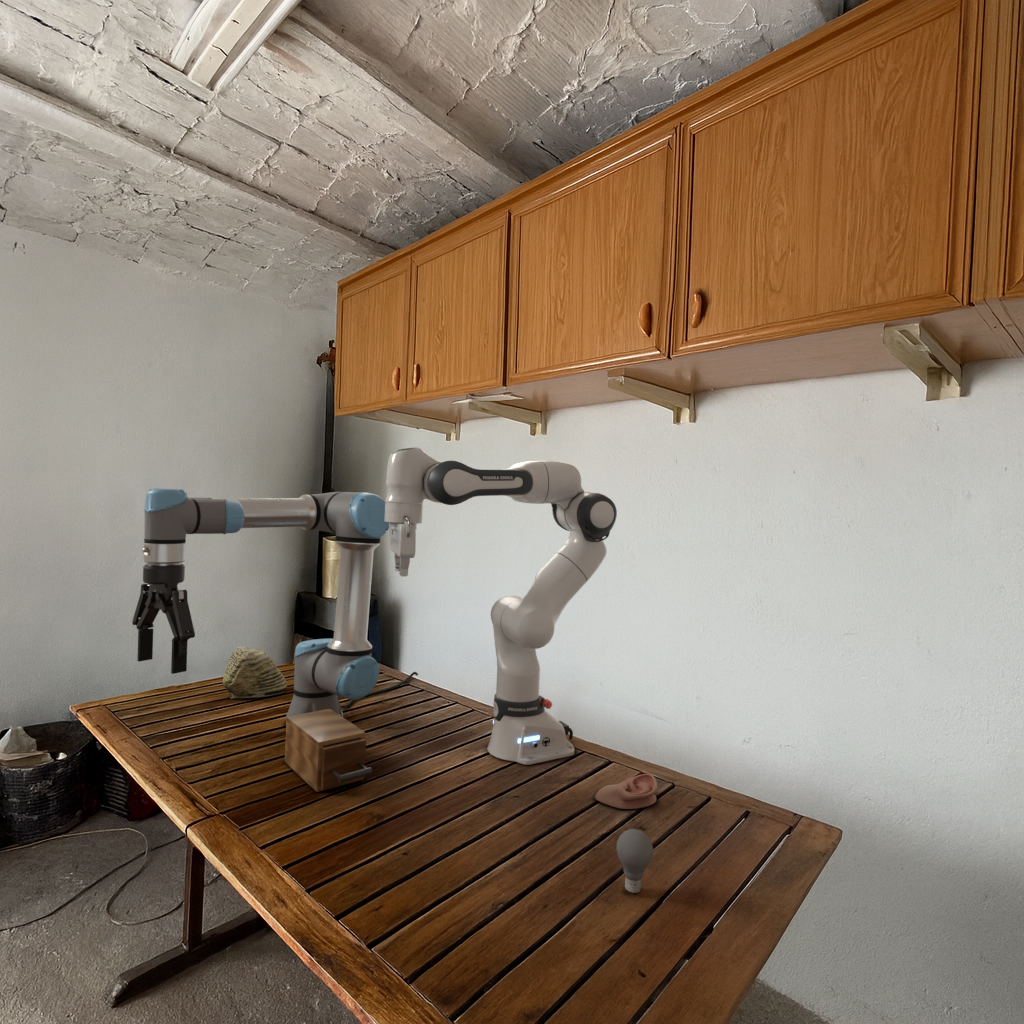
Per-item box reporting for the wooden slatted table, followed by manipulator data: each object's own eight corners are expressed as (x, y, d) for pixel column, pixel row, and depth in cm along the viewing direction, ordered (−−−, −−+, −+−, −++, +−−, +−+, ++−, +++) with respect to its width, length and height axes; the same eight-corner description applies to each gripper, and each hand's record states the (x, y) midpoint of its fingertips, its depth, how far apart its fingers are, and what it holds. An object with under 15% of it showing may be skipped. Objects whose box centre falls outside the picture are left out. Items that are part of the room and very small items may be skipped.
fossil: (218, 695, 195) (220, 647, 195) (278, 685, 208) (279, 640, 207) (228, 703, 189) (230, 653, 188) (289, 692, 201) (290, 645, 201)
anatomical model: (594, 786, 135) (598, 765, 146) (593, 805, 135) (597, 782, 146) (658, 795, 132) (657, 772, 143) (657, 814, 132) (656, 790, 143)
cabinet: (363, 779, 143) (365, 732, 142) (316, 792, 136) (318, 742, 135) (328, 751, 157) (330, 708, 157) (284, 761, 150) (286, 716, 150)
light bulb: (610, 879, 108) (613, 822, 108) (644, 879, 109) (647, 822, 109) (619, 902, 102) (622, 840, 102) (655, 901, 103) (658, 840, 103)
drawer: (376, 788, 137) (378, 748, 136) (334, 800, 130) (335, 758, 130) (331, 752, 154) (333, 716, 154) (292, 761, 148) (293, 724, 148)
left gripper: (116, 559, 134) (113, 658, 135) (178, 570, 120) (174, 681, 121) (152, 557, 140) (149, 652, 141) (215, 568, 126) (212, 673, 127)
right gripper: (423, 517, 141) (420, 579, 141) (411, 514, 161) (408, 568, 161) (395, 516, 139) (392, 579, 140) (385, 513, 159) (383, 568, 159)
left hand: (161, 666), depth 131 cm, fingers open, 13 cm apart
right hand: (401, 573), depth 150 cm, fingers open, 8 cm apart
